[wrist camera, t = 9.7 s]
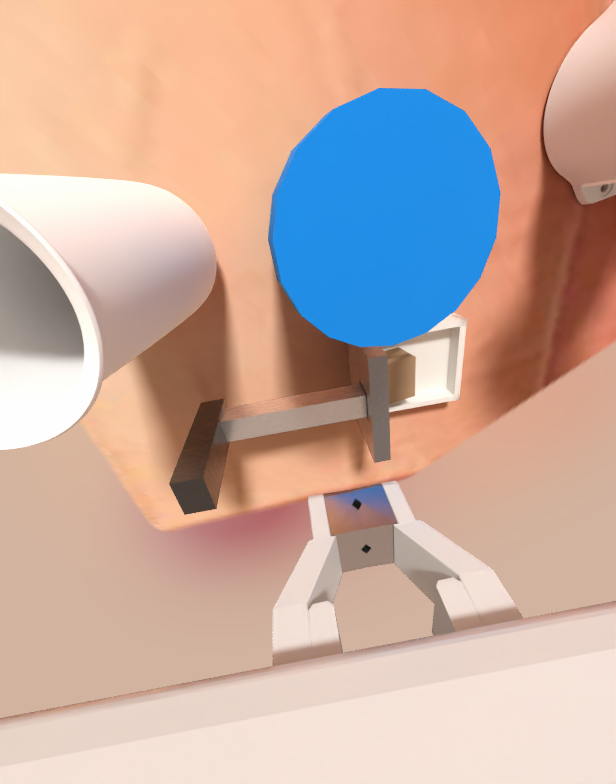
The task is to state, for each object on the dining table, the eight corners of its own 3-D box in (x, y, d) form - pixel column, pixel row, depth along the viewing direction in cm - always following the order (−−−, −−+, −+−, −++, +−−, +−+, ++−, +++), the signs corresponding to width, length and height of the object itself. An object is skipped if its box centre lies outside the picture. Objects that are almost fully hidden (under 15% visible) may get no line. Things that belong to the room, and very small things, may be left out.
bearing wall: (360, 322, 42) (387, 355, 32) (366, 410, 49) (390, 459, 39) (345, 325, 42) (368, 358, 32) (353, 412, 49) (374, 462, 39)
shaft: (356, 374, 40) (393, 442, 28) (358, 401, 42) (394, 476, 30) (200, 402, 40) (169, 483, 28) (210, 428, 42) (184, 514, 30)
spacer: (398, 347, 44) (415, 356, 40) (398, 384, 46) (415, 395, 43) (365, 356, 43) (380, 367, 39) (367, 393, 45) (382, 406, 42)
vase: (88, 179, 32) (-498, 53, 8) (219, 194, 34) (80, 129, 9) (113, 307, 38) (-170, 464, 14) (223, 314, 40) (145, 465, 15)
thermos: (300, 146, 33) (356, -2, 11) (383, 206, 36) (554, 186, 14) (255, 248, 37) (229, 290, 15) (333, 293, 40) (406, 381, 18)
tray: (455, 313, 43) (466, 319, 40) (449, 389, 49) (459, 399, 46) (360, 329, 43) (366, 337, 40) (366, 404, 48) (371, 415, 46)
